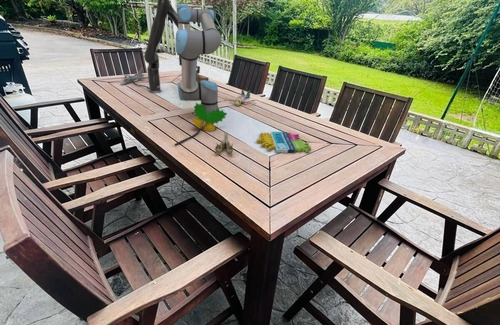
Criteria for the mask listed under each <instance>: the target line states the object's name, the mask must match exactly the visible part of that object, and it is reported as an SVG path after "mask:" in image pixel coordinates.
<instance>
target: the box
mask: <svg viewBox="0 0 500 325" xmlns="http://www.w3.org/2000/svg"><path fill="white" fill-rule="evenodd" d="M201 80H207V81H210V80H209V77H207V76H205V75H201V74H199V73H198V74H196V81H197V83H200V81H201Z"/></svg>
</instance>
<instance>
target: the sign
mask: <svg viewBox="0 0 500 325" xmlns="http://www.w3.org/2000/svg"><path fill="white" fill-rule="evenodd" d="M299 136H300V135H299V134H298V133H296V134H294V133H291V132H287V131H270V132H264V133H263V132H260V133H259V139H258V138H257V139H256V143H257V144H261V148H263V147H264V148H265V149H267V151H268V152H271V151H272V150H273V149H275V152H276V153H283V154H285V153H287V154H288V153H290V154H293V153H296V152H298V153H301V152H305V153H310V151H311V150H312V149H311V148H312V146H309V142H304V141H303V139H302V138H299Z"/></svg>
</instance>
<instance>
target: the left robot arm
mask: <svg viewBox="0 0 500 325" xmlns="http://www.w3.org/2000/svg"><path fill="white" fill-rule="evenodd" d="M167 16H168V17H169V18H170V19H171V21H172V22H173V24H174V25H175V26H176V28H177V29H178V30H179V27H178V13H177V12H176V10H175V9H174V7H173V5H172V4H171V2H170V0H156V12H155V16H154V18H153V20H152V24H151V27H150V32H149V36H148V40H147V45H146V49H145V51H144V54H143V59H144V61H145V63H146V64H148V65H147V68H146V70H147V77H148V78H147V79H148V85H143V84H138V83H135V82H134V81H132V84H133V85H135V86H138V87H145V88H147V89H148V90H149V92H150V93H156V94H157V93H160V92H161V91H162V90H161V80H160V79H161V78H160V58H159V54H158V53H157V48H158V46H159V45H160V43H161V42H162V39H163V36H164V31H165V26H166V19H167ZM200 71H201V66H199V65H198V63H197V64H196V74H198V75H199V74H200V73H201V72H200Z"/></svg>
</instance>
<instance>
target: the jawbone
mask: <svg viewBox="0 0 500 325" xmlns="http://www.w3.org/2000/svg"><path fill="white" fill-rule="evenodd" d="M223 135H224V136H223V140H222V139H221V142H220V144H218V142H215V144H216V146H215V148H214V149H215V152H214V154H215V155H217V156H218V155H220V153H221V152H223V151H224V150H226V152H227V153H228V155H229V156H233V155H234V154H233V153H234V148H233V144H234V143H230V140H228V139H229V138H228V137H229V136H228V135H229V133H228V131H226V132H224V134H223Z"/></svg>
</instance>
